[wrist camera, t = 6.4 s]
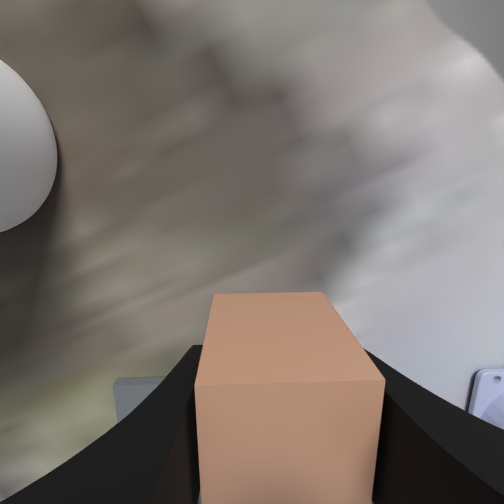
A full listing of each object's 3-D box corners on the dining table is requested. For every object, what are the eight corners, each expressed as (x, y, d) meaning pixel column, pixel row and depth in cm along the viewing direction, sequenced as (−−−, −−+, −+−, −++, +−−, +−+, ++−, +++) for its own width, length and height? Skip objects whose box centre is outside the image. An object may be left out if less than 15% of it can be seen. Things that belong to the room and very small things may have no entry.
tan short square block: (322, 291, 11) (385, 379, 6) (317, 384, 12) (368, 522, 7) (214, 293, 11) (194, 385, 6) (217, 388, 12) (203, 530, 7)
